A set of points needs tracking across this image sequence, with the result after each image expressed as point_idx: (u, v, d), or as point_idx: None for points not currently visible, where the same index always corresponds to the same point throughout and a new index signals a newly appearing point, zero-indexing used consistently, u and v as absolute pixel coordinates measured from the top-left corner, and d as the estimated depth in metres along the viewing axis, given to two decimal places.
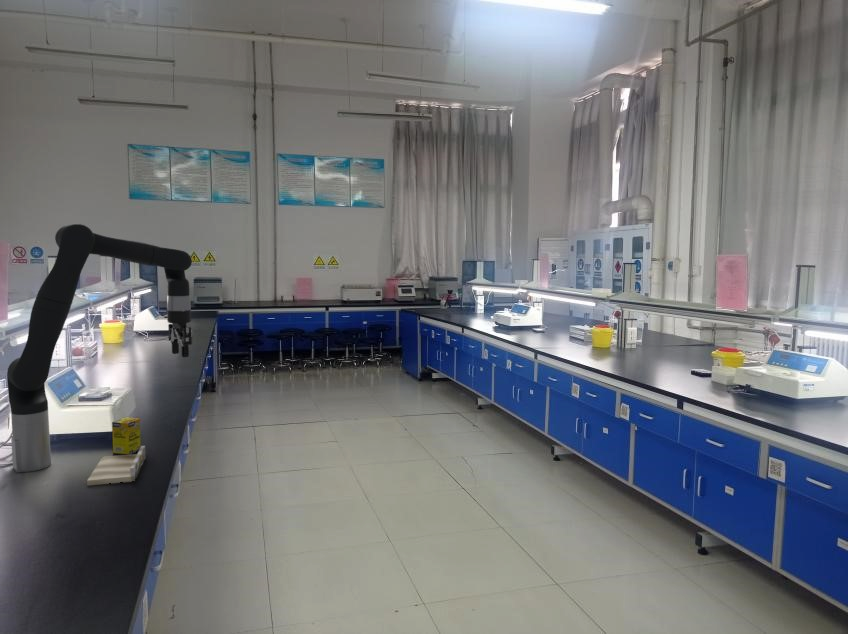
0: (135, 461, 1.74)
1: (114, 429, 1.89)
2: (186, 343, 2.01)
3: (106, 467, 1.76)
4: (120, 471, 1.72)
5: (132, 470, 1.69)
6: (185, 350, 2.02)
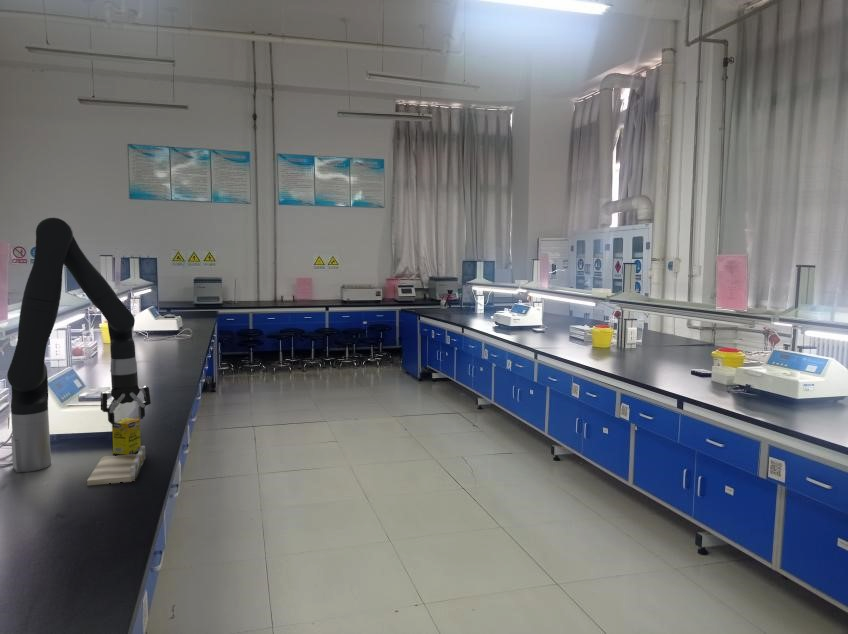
0: (135, 461, 1.74)
1: (114, 430, 1.89)
2: None
3: (106, 467, 1.76)
4: (120, 471, 1.72)
5: (132, 470, 1.69)
6: None
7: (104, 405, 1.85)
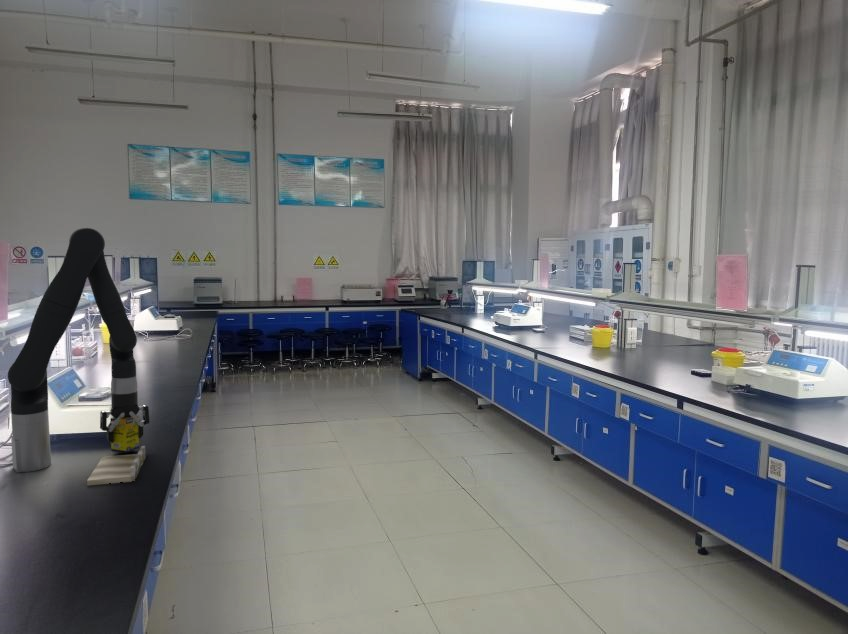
0: (135, 461, 1.74)
1: None
2: None
3: (106, 467, 1.76)
4: (120, 471, 1.72)
5: (132, 470, 1.69)
6: None
7: (103, 424, 1.86)
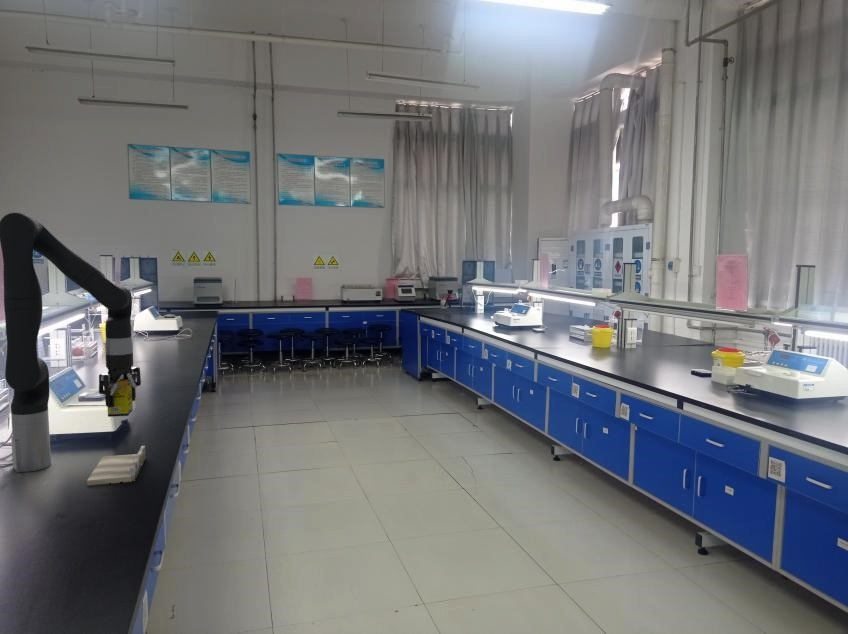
0: (135, 461, 1.74)
1: (110, 389, 1.80)
2: None
3: (106, 467, 1.76)
4: (120, 471, 1.72)
5: (132, 470, 1.69)
6: None
7: (106, 387, 1.77)
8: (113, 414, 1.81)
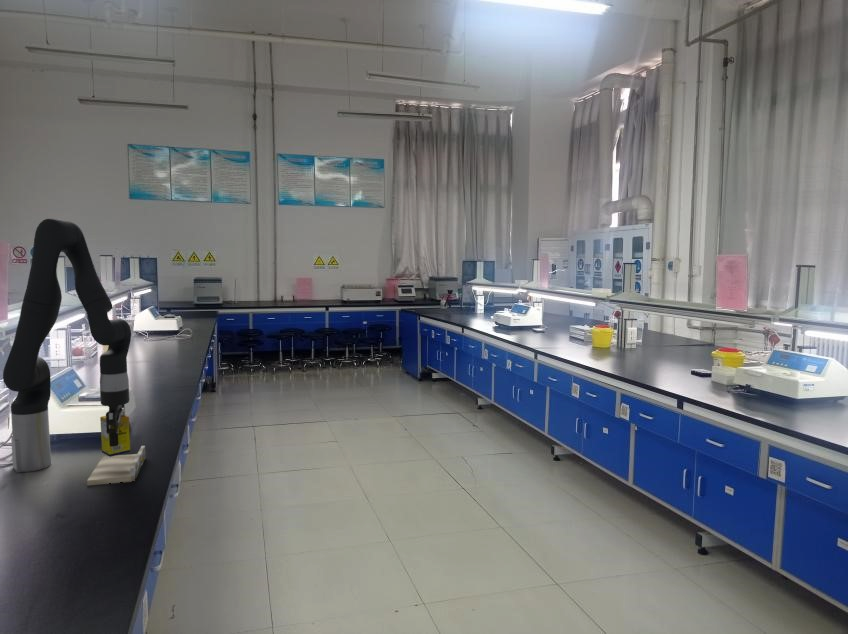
0: (135, 461, 1.74)
1: (111, 427, 1.72)
2: None
3: (106, 467, 1.76)
4: (120, 471, 1.72)
5: (132, 470, 1.69)
6: None
7: (116, 425, 1.69)
8: (115, 453, 1.73)
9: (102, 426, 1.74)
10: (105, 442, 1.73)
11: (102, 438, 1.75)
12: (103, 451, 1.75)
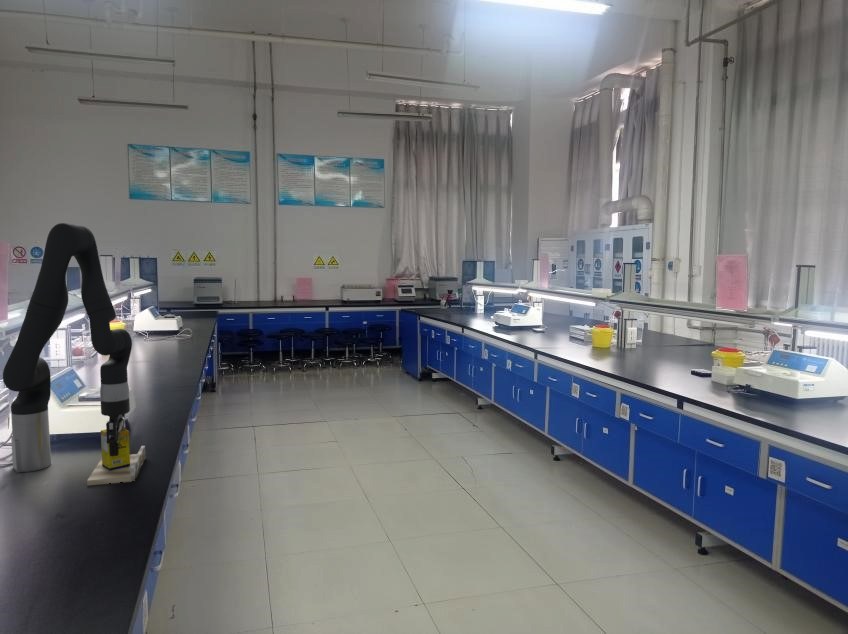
0: (135, 461, 1.74)
1: None
2: None
3: None
4: (120, 471, 1.72)
5: (132, 470, 1.69)
6: None
7: (116, 435, 1.70)
8: (115, 467, 1.74)
9: (102, 440, 1.75)
10: (105, 455, 1.74)
11: (102, 452, 1.75)
12: (103, 465, 1.76)
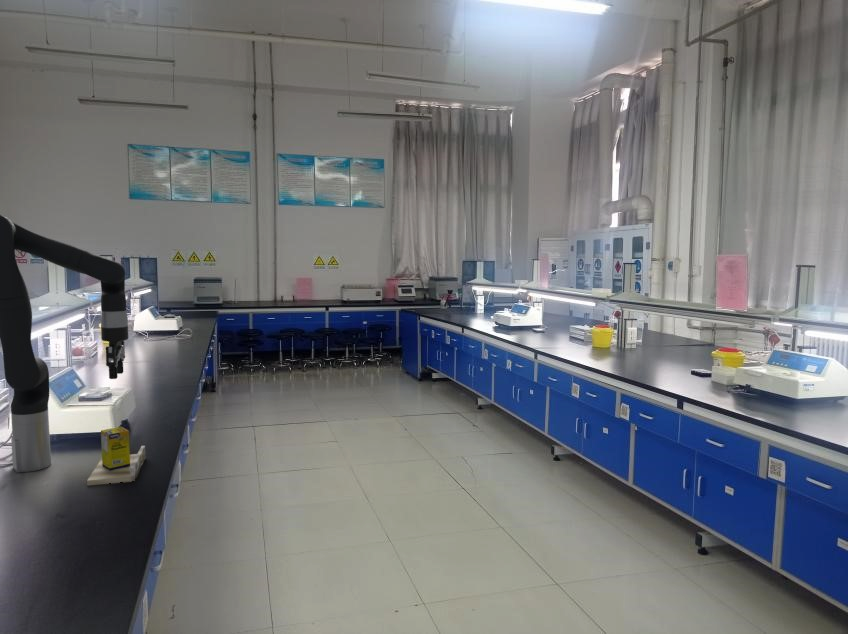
0: (135, 461, 1.74)
1: (111, 441, 1.72)
2: None
3: None
4: (120, 471, 1.72)
5: (132, 470, 1.69)
6: None
7: (115, 359, 1.82)
8: (115, 467, 1.74)
9: (102, 440, 1.75)
10: (105, 455, 1.74)
11: (102, 452, 1.75)
12: (103, 465, 1.76)
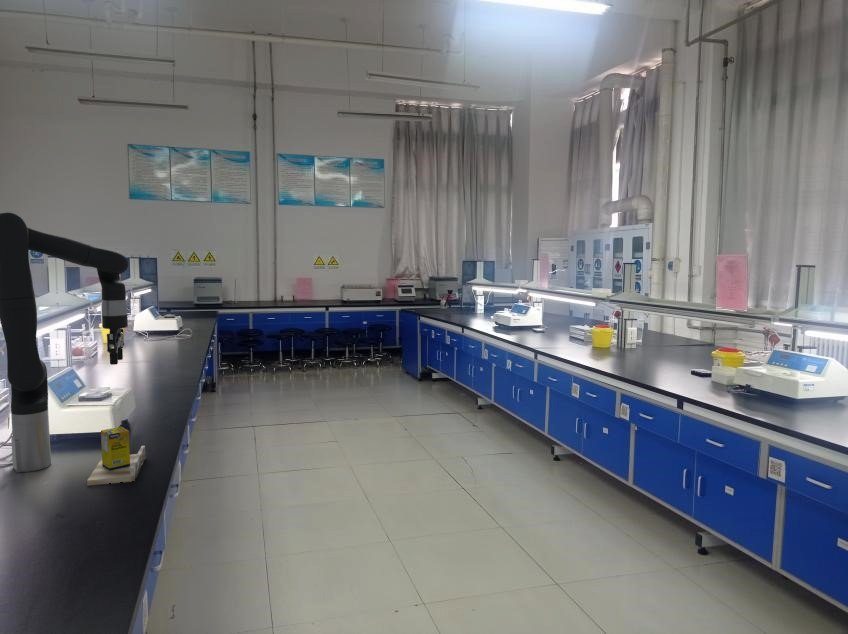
0: (135, 461, 1.74)
1: (111, 441, 1.72)
2: None
3: None
4: (120, 471, 1.72)
5: (132, 470, 1.69)
6: None
7: (115, 345, 1.92)
8: (115, 467, 1.74)
9: (102, 440, 1.75)
10: (105, 455, 1.74)
11: (102, 452, 1.75)
12: (103, 465, 1.76)
